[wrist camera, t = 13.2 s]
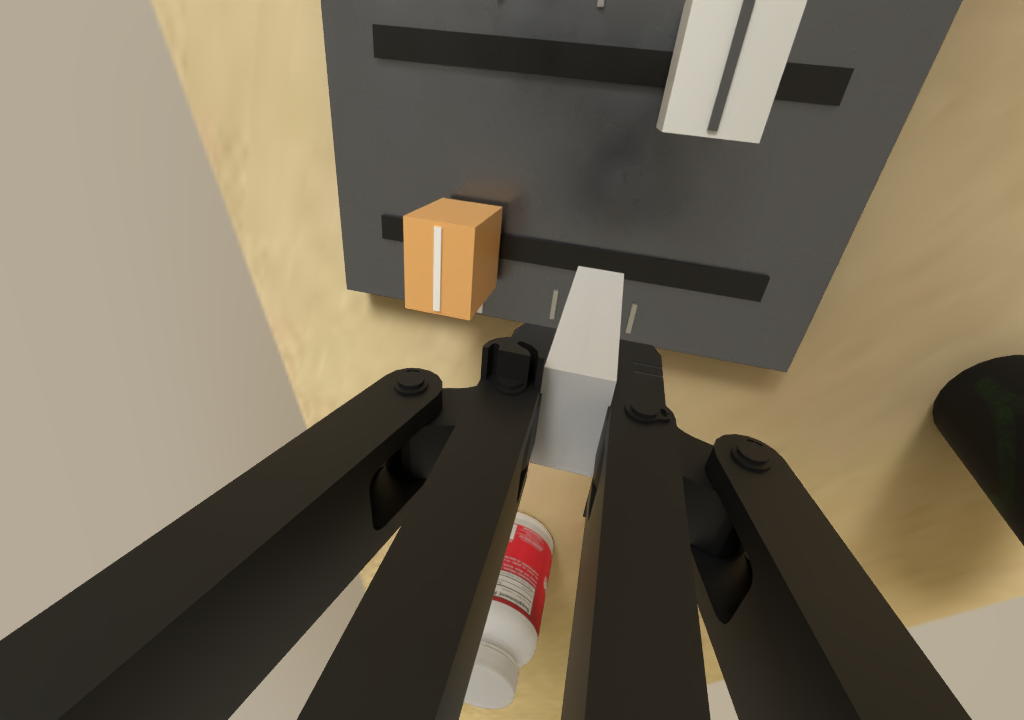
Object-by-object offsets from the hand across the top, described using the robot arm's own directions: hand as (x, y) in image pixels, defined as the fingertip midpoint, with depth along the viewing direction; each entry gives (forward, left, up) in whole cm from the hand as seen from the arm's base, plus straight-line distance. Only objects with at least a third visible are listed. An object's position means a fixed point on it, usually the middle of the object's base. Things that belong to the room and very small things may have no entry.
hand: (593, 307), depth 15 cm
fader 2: (-7, +3, -7) cm, 10 cm away
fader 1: (+1, -7, -7) cm, 10 cm away
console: (-3, -2, -10) cm, 10 cm away
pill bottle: (+24, -2, -10) cm, 26 cm away
